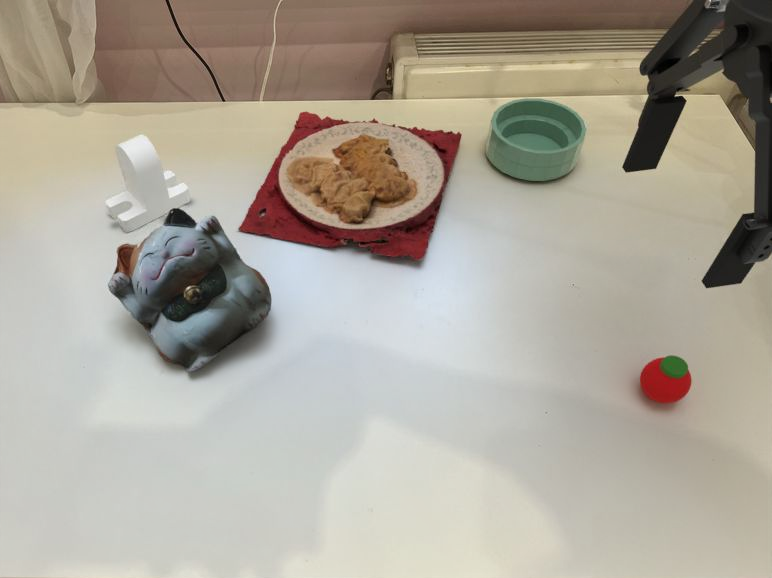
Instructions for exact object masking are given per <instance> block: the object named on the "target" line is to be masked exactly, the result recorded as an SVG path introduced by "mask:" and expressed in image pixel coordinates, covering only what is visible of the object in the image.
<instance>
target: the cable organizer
mask: <svg viewBox="0 0 772 578" xmlns="http://www.w3.org/2000/svg"><path fill="white" fill-rule="evenodd" d="M114 151H115V156H116V159H117V161H118V165H119V169H120V171H121V176H122V178H123V182H124V185H125V188H126V190H125V191H122V192H120V193H118V194H116V195H114V196H112V197H110V198H107V200H105V205H106V208H107V211H108V214H109V216H110V217H111V218H112V219H114V220H115V219H117V220H118V222H119V226H120V227H121V229H122V230H123V231H124V232H126V233H132V232H133V231H135V230H137V229H139V228H141V227H143V226H145V225H147V224H149V223H152V222H153V221H156V220H157V219H158V218H161V217H162V216H164V215H168V214H169V212H170V210H171V209H173V208H180V207H183V206H185V205H187V204H188V203H190V201H191V196H190V192H189V191H190V190H189V187H188V185H186V183H184V182H181V183H179V184H178V180H177V177H176V174H175V173H174V172H173V171H171V170H164V169H163V166H162V162H161V159H160V156H159V154H158V152H157V151H156V148H155V147H154V145H153V143H152V142H151V140H150V139H149V138H148V137H147V136H146V135H145V134H142V133H140V134H138V135H136V136H133V137H131V138H129V139H127V140H126V141H123V142H120V143H118V144H116V145H115V147H114Z"/></svg>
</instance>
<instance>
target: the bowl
mask: <svg viewBox="0 0 772 578" xmlns="http://www.w3.org/2000/svg"><path fill="white" fill-rule="evenodd" d="M587 131H588V130H587V126H586V122H585V120H584V119H583V118H582V116H581V115H580V114H579V113H578V112H577V111H576V110H574V109H573V108H572V107H569V106H568V105H565V104H563V103H560V102H558V101H555V100H550V99H545V98H538V97H537V98H536V97H535V98H529V97H528V98H527V97H526V98H519V99H513V100H511V101H508V102H506V103H504V104H502V105H500V106H499V107H498V108H497V109H496V110H495V111H494V112H493V114H492V117H491V119H490V123H489V127H488V133H487V137H486V142H485V143H486V144H485V154H486V157H487V159H488V161H489V162H490V163H491V164H492V165H493V167H495V168H496V169H498V170H499V171H500V172H502V173H504V174H506V175H507V176H510V177H512V178H516V179H520V180H525V181H531V182H532V181H533V182H537V181H538V182H545V181H550V180H551V181H552V180H555V179H560V178H561V177H563V176H565V175H567V174H569V173H570V172H571V171H572V170H573V169H574V168H575V167H576V165H577V162H578V159H579V156H580V154H581V151H582V147H583V145H584V141H585V139H586V135H587Z"/></svg>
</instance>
